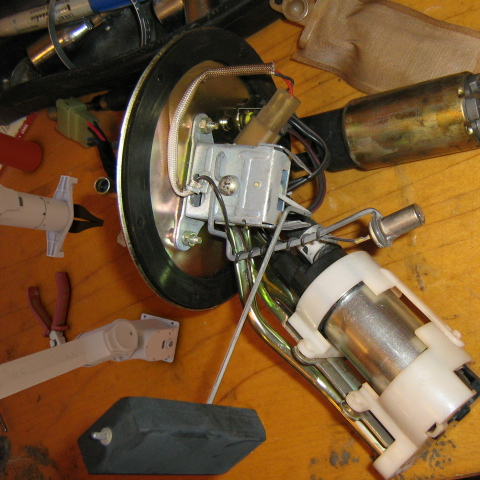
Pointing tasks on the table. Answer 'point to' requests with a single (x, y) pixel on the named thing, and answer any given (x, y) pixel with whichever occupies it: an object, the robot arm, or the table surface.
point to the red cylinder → (19, 153)
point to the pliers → (57, 325)
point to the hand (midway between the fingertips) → (99, 222)
